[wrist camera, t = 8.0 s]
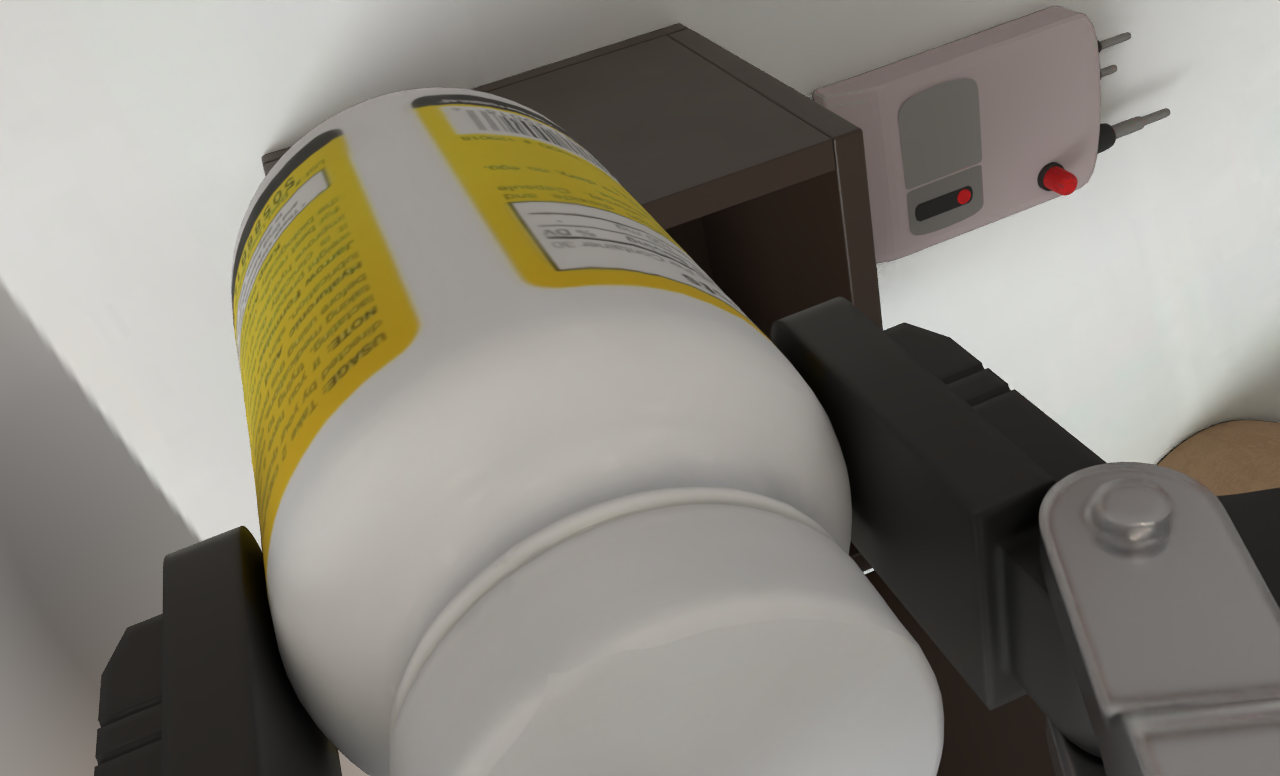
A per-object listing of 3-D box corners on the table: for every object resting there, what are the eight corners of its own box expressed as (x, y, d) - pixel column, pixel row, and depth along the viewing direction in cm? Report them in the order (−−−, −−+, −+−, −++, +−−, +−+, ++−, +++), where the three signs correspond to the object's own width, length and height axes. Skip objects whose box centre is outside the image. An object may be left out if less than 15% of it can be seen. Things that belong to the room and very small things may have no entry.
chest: (260, 155, 34) (297, 324, 25) (680, 22, 37) (864, 128, 27) (403, 503, 42) (475, 737, 32) (744, 373, 44) (907, 554, 35)
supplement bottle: (314, 492, 17) (438, 1178, 9) (158, 152, 14) (140, 726, 6) (653, 368, 18) (1036, 891, 10) (575, 25, 15) (1031, 379, 7)
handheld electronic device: (762, 107, 39) (802, 133, 37) (1153, -32, 42) (1215, -17, 39) (790, 276, 43) (828, 310, 40) (1148, 138, 45) (1204, 162, 43)
